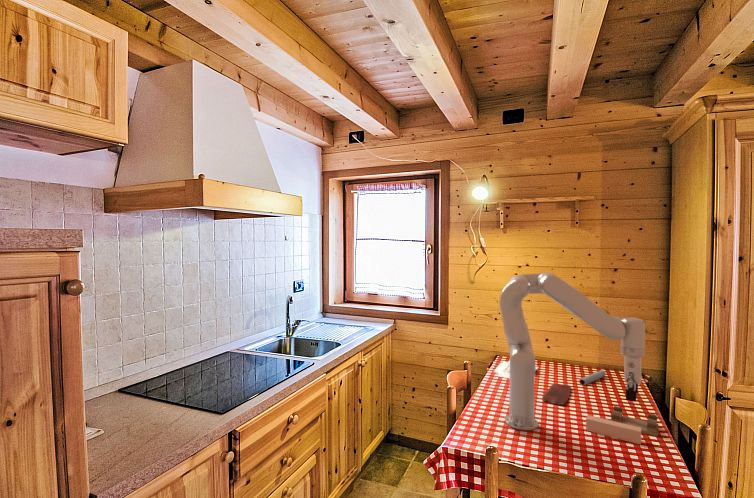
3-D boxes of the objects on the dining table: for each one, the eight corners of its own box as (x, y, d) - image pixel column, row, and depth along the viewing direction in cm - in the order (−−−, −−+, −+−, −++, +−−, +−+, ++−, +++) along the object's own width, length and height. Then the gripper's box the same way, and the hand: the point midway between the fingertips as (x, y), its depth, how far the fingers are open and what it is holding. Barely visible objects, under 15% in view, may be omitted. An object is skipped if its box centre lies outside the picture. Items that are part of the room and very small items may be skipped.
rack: (657, 436, 151) (658, 425, 150) (609, 424, 160) (609, 413, 160) (658, 426, 159) (658, 415, 158) (612, 415, 168) (612, 405, 168)
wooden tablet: (564, 407, 177) (564, 403, 177) (541, 401, 182) (541, 398, 182) (573, 388, 199) (573, 384, 199) (552, 383, 204) (552, 380, 204)
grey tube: (599, 375, 218) (599, 369, 218) (612, 378, 213) (612, 372, 213) (578, 384, 205) (578, 378, 205) (592, 388, 200) (592, 381, 200)
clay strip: (640, 445, 145) (640, 431, 145) (585, 431, 155) (586, 418, 155) (641, 440, 148) (641, 427, 148) (587, 427, 159) (587, 415, 158)
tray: (490, 376, 217) (490, 370, 217) (503, 362, 241) (503, 356, 241) (529, 383, 207) (529, 376, 206) (538, 368, 230) (538, 362, 230)
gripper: (643, 358, 138) (642, 406, 139) (645, 347, 152) (644, 391, 153) (618, 355, 143) (618, 401, 143) (622, 344, 157) (622, 387, 157)
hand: (631, 396), depth 148 cm, fingers open, 9 cm apart
